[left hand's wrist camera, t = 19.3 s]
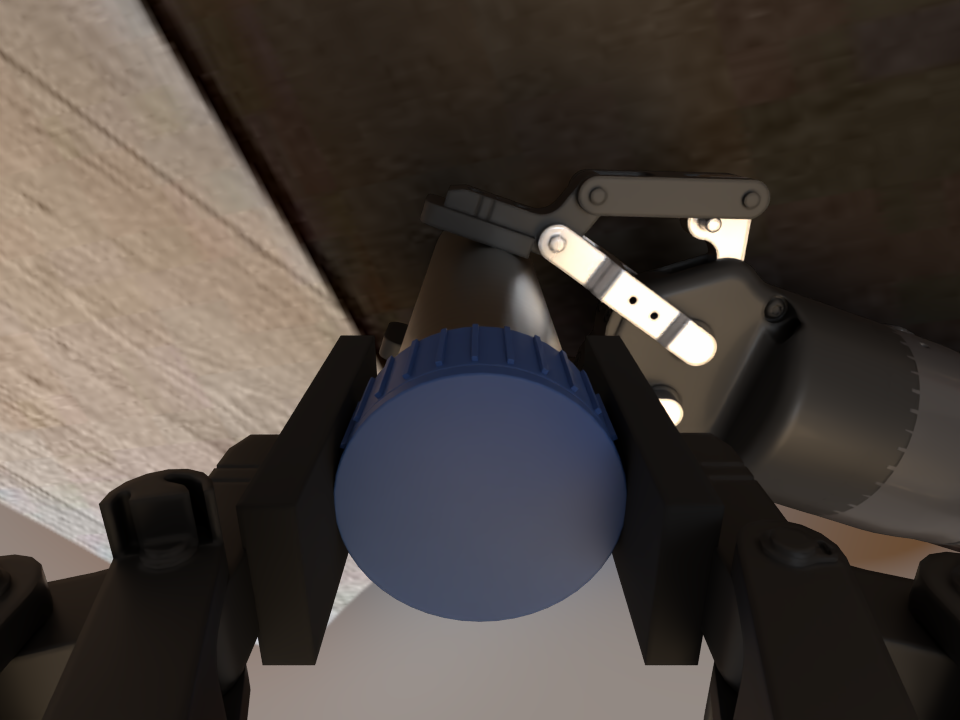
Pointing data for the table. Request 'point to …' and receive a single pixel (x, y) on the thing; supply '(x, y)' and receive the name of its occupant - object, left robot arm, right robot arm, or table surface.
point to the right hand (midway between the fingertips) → (405, 276)
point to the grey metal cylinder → (479, 292)
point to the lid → (480, 476)
